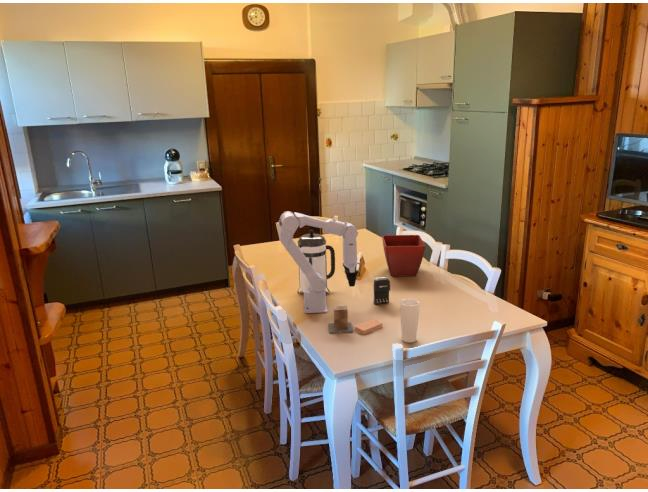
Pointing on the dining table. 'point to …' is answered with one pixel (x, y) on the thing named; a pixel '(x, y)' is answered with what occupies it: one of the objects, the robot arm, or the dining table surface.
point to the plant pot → (403, 254)
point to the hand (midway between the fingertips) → (350, 282)
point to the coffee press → (315, 257)
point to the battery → (381, 290)
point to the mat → (333, 330)
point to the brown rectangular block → (340, 317)
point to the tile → (368, 326)
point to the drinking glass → (409, 319)
